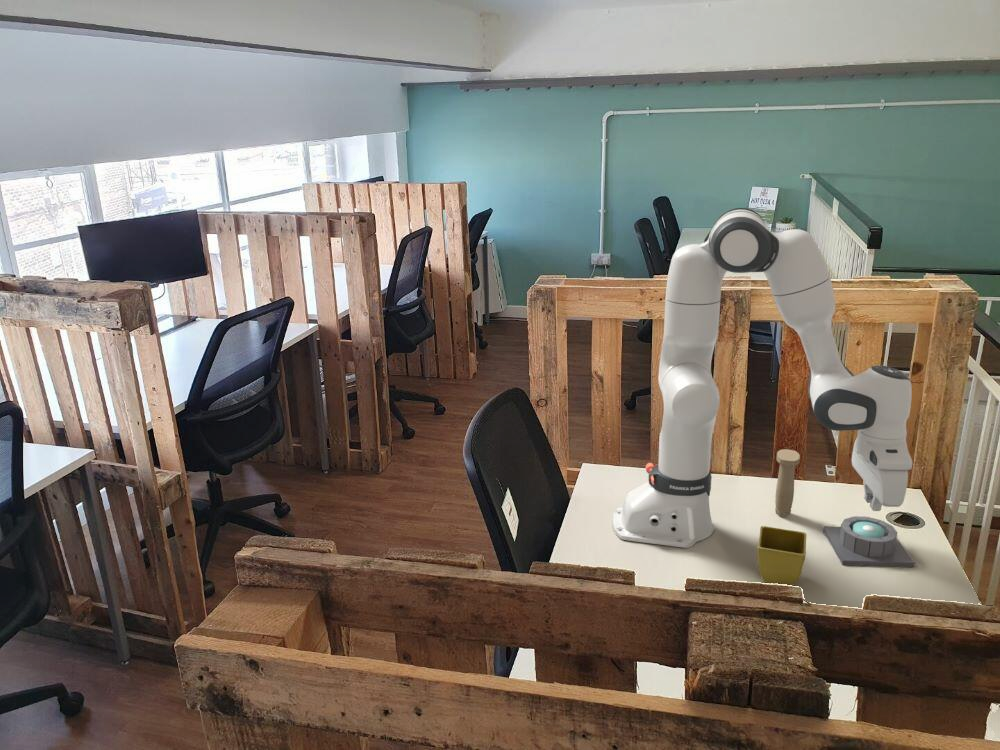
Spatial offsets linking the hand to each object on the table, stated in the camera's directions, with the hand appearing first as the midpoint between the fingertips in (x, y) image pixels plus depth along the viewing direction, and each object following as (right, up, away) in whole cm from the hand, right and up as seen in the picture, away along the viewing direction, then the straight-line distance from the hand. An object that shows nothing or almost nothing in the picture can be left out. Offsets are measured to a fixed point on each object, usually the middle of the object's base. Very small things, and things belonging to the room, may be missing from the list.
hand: (872, 505), depth 161 cm
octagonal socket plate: (0, -10, +3) cm, 10 cm away
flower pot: (-22, -14, -7) cm, 27 cm away
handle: (-12, -5, +18) cm, 22 cm away
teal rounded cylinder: (0, -9, +3) cm, 9 cm away
